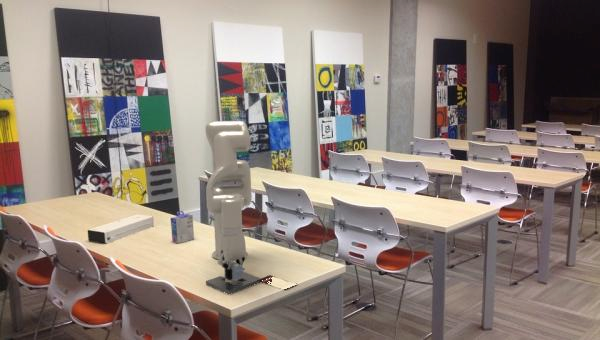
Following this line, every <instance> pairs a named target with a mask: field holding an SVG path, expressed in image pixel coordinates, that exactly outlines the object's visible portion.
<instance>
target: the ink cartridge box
mask: <svg viewBox="0 0 600 340" xmlns="http://www.w3.org/2000/svg"><path fill="white" fill-rule="evenodd" d="M176 215H177V216H173V217H170V228H171V238H172V239H171V240H172V243H175V244H180V243H185V242H188V241H192V240H195V233H194V215H193V214H188V213H184V211H183V210H180V211H176Z"/></svg>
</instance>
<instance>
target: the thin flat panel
mask: <svg viewBox="0 0 600 340" xmlns="http://www.w3.org/2000/svg"><path fill="white" fill-rule="evenodd" d="M273 276H274V275H267V276H264V277H261V278H262V280H263V281H262V283H261V284H263V283H265V284H264V285H266V284H268V283H269V282H268V281H270V282H272V279H271V278H272V277H273ZM269 278H270V279H269ZM266 279H267V280H266ZM267 282H268V283H267ZM270 284H271V283H270ZM296 284H297V285H295V286H292V287H290V288H287V289H284V290H283V291H288V290H291V289H292V288H295V287H297V286H298V283H296Z"/></svg>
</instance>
